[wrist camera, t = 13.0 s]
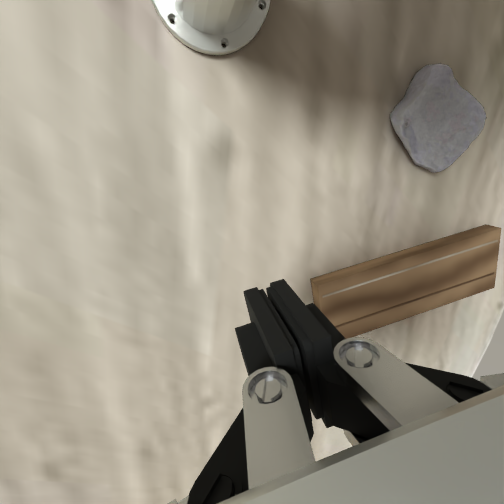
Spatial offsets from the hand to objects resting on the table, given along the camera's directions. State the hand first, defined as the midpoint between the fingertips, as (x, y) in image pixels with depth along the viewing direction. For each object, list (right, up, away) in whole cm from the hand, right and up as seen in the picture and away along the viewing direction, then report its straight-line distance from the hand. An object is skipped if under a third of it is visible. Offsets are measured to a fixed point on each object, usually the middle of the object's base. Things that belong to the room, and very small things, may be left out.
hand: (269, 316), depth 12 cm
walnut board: (+24, -2, +36) cm, 44 cm away
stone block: (+23, +20, +29) cm, 42 cm away
